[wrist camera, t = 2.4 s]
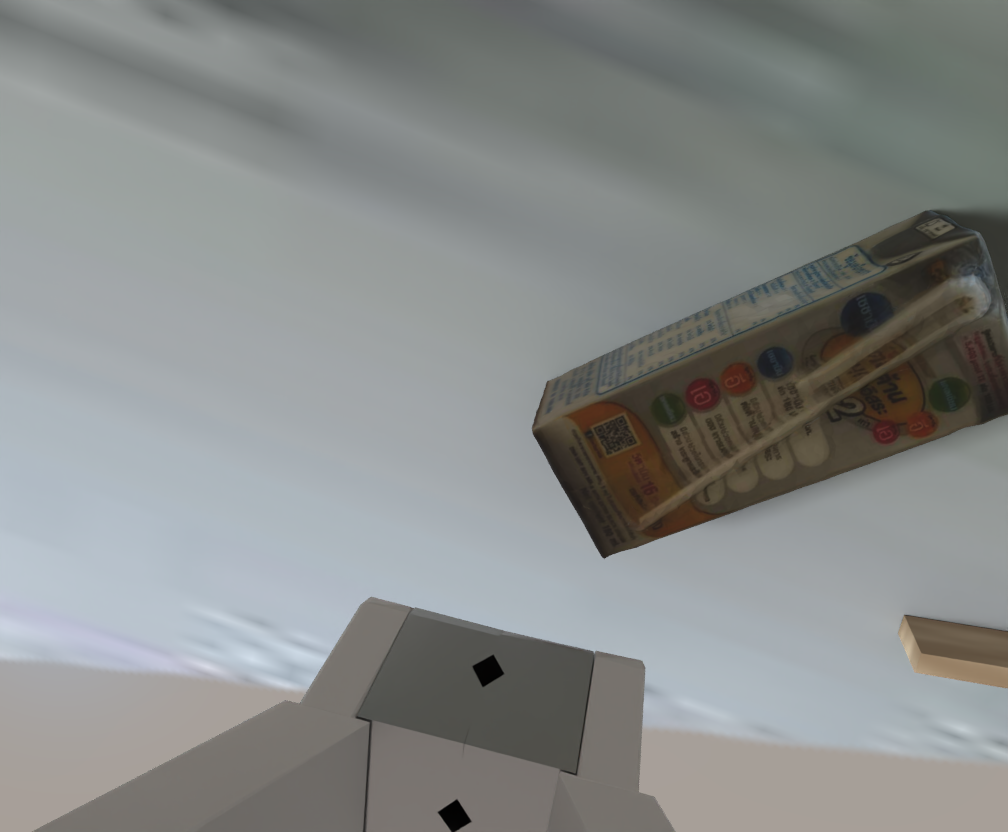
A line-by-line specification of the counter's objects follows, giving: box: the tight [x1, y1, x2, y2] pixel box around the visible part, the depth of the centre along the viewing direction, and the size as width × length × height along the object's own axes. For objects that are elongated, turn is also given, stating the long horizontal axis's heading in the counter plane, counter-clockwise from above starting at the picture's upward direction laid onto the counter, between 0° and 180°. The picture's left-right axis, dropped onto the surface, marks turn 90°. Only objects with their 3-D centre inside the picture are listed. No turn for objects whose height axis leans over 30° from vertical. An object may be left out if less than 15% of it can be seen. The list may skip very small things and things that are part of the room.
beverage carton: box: [532, 210, 1008, 559], centre depth 34 cm, size 8×19×7 cm, turn 119°
